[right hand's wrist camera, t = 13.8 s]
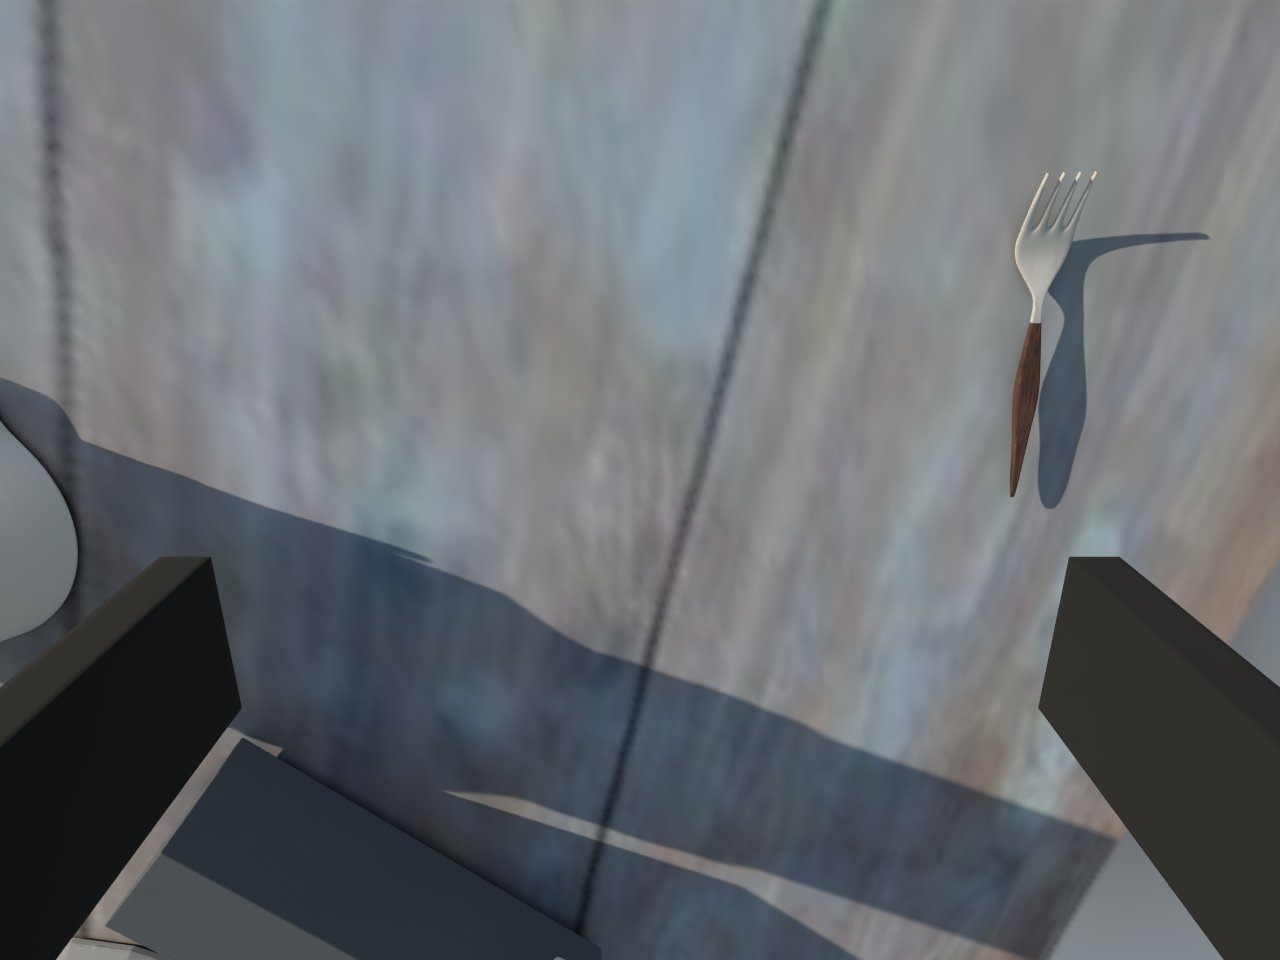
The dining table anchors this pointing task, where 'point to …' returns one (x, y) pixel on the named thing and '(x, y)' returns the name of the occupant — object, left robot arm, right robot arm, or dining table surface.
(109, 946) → the wall clock
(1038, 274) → the fork
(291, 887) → the box
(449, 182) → the dining table surface
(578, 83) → the dining table surface
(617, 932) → the dining table surface
